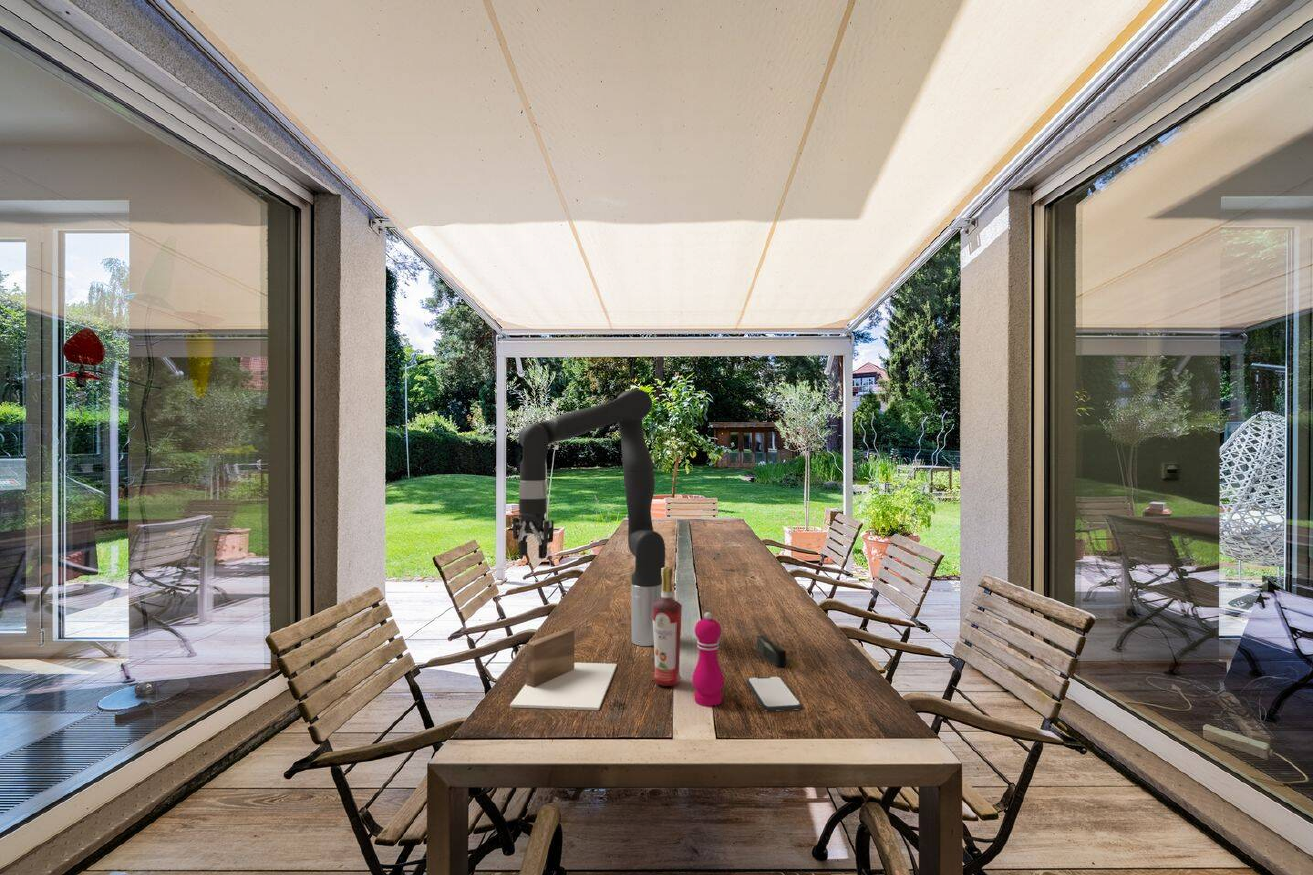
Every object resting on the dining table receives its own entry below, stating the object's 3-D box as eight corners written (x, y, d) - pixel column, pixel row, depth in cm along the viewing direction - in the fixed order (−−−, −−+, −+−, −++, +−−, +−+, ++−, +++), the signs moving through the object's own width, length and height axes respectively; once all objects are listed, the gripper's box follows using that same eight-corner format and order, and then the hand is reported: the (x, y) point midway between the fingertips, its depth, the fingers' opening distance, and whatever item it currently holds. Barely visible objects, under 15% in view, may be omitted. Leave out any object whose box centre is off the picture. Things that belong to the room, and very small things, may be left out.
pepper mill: (703, 710, 127) (702, 618, 127) (686, 697, 133) (686, 610, 134) (730, 703, 130) (730, 614, 131) (712, 691, 137) (712, 606, 137)
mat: (616, 665, 153) (616, 663, 153) (598, 710, 127) (598, 707, 127) (542, 663, 154) (542, 661, 154) (510, 707, 128) (510, 704, 128)
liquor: (647, 686, 139) (647, 570, 140) (658, 675, 146) (657, 564, 147) (676, 690, 137) (676, 572, 137) (685, 679, 144) (685, 566, 144)
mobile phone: (788, 649, 152) (761, 631, 166) (777, 650, 151) (751, 632, 165) (787, 668, 152) (760, 648, 166) (777, 669, 151) (751, 649, 165)
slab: (526, 684, 139) (526, 643, 139) (566, 666, 150) (566, 628, 151) (533, 687, 137) (533, 645, 138) (574, 669, 149) (574, 630, 149)
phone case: (803, 712, 127) (780, 682, 143) (803, 705, 127) (780, 675, 143) (764, 714, 126) (745, 683, 142) (764, 707, 126) (745, 677, 142)
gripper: (561, 496, 158) (561, 557, 158) (525, 494, 167) (525, 552, 166) (541, 498, 152) (541, 561, 152) (504, 496, 160) (504, 556, 160)
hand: (532, 556), depth 159 cm, fingers open, 7 cm apart
